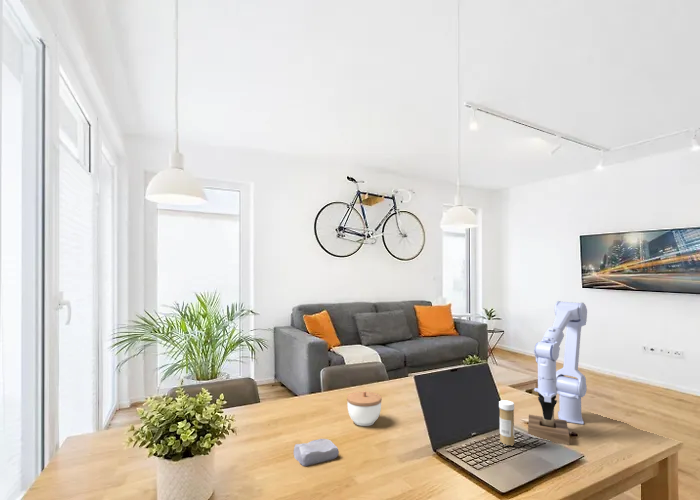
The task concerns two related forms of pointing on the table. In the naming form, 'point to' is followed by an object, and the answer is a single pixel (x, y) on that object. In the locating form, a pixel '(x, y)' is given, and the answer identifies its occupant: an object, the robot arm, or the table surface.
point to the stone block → (315, 452)
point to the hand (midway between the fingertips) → (547, 417)
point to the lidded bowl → (364, 407)
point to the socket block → (549, 430)
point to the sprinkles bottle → (506, 422)
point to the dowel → (548, 421)
